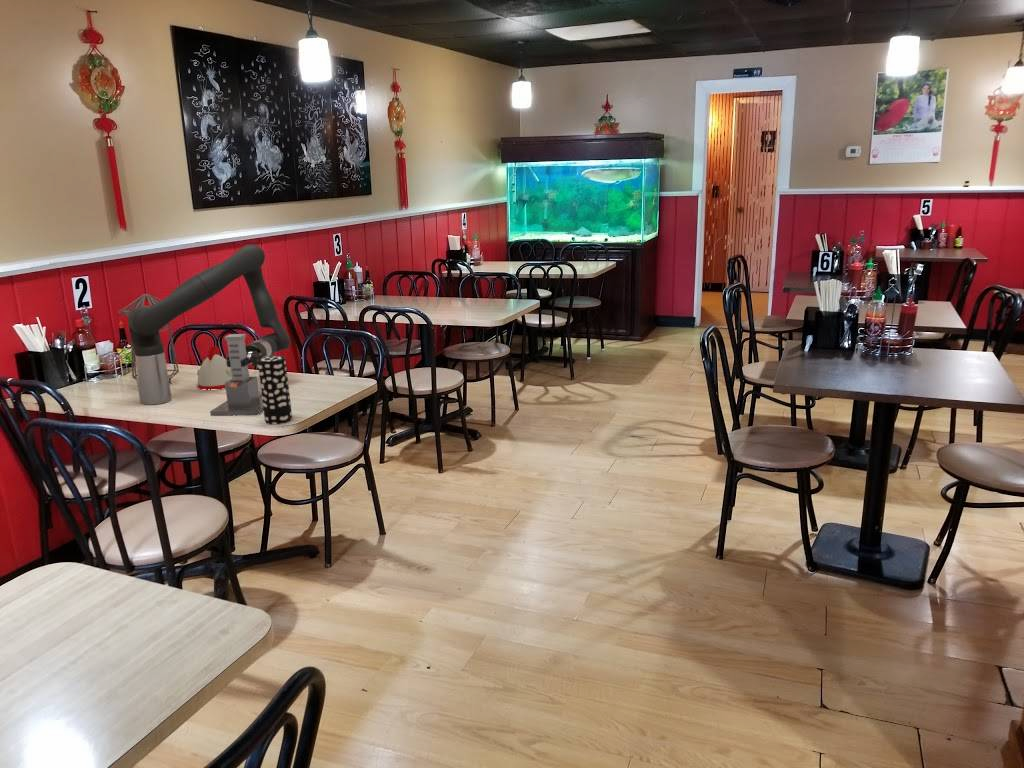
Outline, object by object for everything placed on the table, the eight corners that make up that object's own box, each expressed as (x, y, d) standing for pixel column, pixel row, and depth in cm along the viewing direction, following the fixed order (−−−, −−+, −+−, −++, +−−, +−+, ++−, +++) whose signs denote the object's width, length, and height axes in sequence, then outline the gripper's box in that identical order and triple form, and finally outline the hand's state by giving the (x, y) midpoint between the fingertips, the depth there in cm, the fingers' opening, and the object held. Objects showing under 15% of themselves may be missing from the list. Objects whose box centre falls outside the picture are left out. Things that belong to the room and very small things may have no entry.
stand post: (233, 405, 252) (224, 337, 246) (239, 401, 256) (230, 334, 250) (248, 405, 251) (239, 336, 245) (254, 401, 256) (245, 334, 250)
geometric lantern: (147, 381, 296) (135, 291, 287) (187, 381, 295) (176, 291, 286) (126, 391, 280) (112, 297, 272) (168, 391, 280) (156, 297, 271)
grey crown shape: (243, 380, 292) (238, 342, 288) (227, 390, 278) (222, 350, 275) (208, 380, 293) (203, 342, 289) (191, 390, 280) (185, 350, 276)
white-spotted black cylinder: (270, 416, 244) (262, 356, 239) (295, 416, 244) (288, 355, 239) (261, 424, 236) (253, 362, 231) (287, 424, 236) (280, 361, 231)
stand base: (210, 415, 248) (206, 386, 245) (232, 401, 263) (228, 373, 260) (257, 415, 246) (254, 385, 243) (277, 401, 261) (273, 373, 259)
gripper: (235, 342, 264) (212, 353, 247) (275, 341, 262) (254, 352, 246) (238, 363, 266) (215, 375, 249) (277, 362, 264) (257, 375, 248)
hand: (235, 364), depth 248 cm, fingers closed on stand post, 4 cm apart
